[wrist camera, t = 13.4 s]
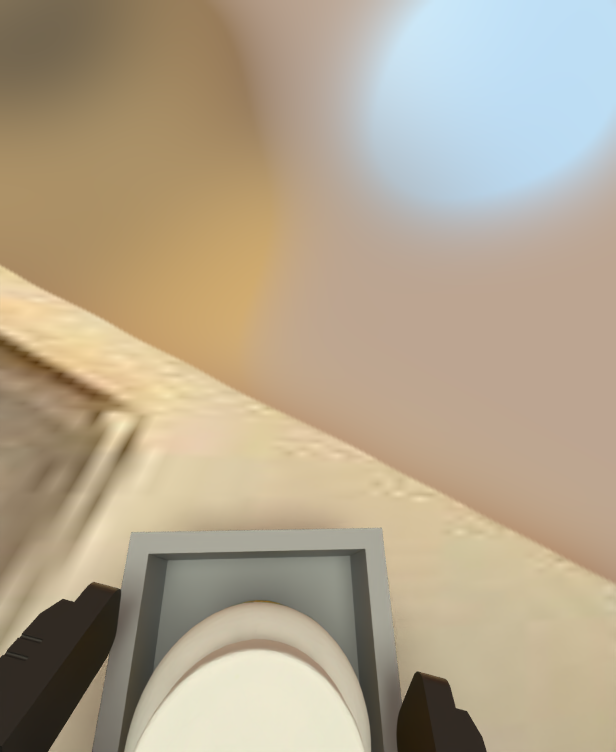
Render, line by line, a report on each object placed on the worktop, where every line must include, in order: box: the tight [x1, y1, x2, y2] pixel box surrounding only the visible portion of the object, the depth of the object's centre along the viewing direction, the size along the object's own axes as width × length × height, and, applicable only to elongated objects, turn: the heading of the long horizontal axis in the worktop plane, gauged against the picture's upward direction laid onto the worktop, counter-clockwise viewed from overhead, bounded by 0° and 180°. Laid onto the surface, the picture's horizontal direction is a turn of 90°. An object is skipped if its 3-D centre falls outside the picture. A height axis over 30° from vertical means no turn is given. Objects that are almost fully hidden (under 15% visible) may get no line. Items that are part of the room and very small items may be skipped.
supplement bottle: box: [124, 600, 371, 752], centre depth 10 cm, size 5×5×10 cm
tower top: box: [92, 528, 402, 752], centre depth 14 cm, size 9×9×4 cm
